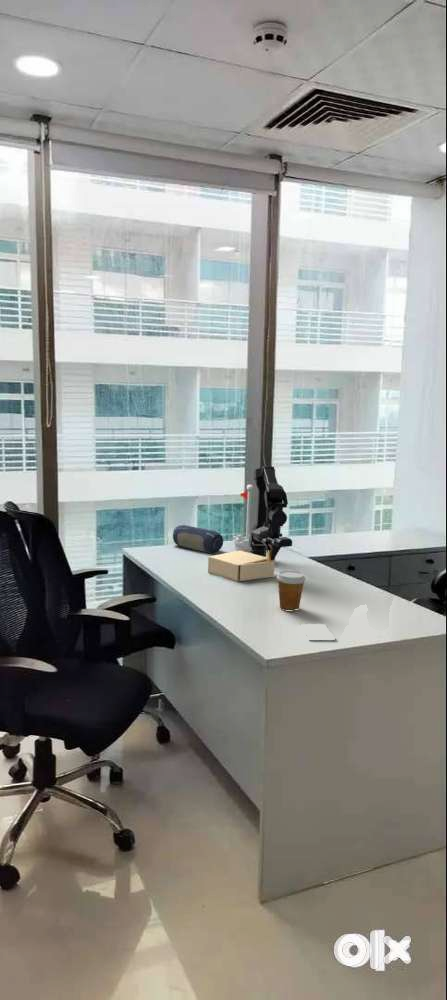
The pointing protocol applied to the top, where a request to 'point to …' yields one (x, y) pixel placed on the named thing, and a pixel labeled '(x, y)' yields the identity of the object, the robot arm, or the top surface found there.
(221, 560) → the carton
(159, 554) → the top surface
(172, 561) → the top surface
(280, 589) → the disposable coffee cup
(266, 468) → the robot arm
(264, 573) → the carton flap
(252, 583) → the top surface
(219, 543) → the portable speaker
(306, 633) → the top surface
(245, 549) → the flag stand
